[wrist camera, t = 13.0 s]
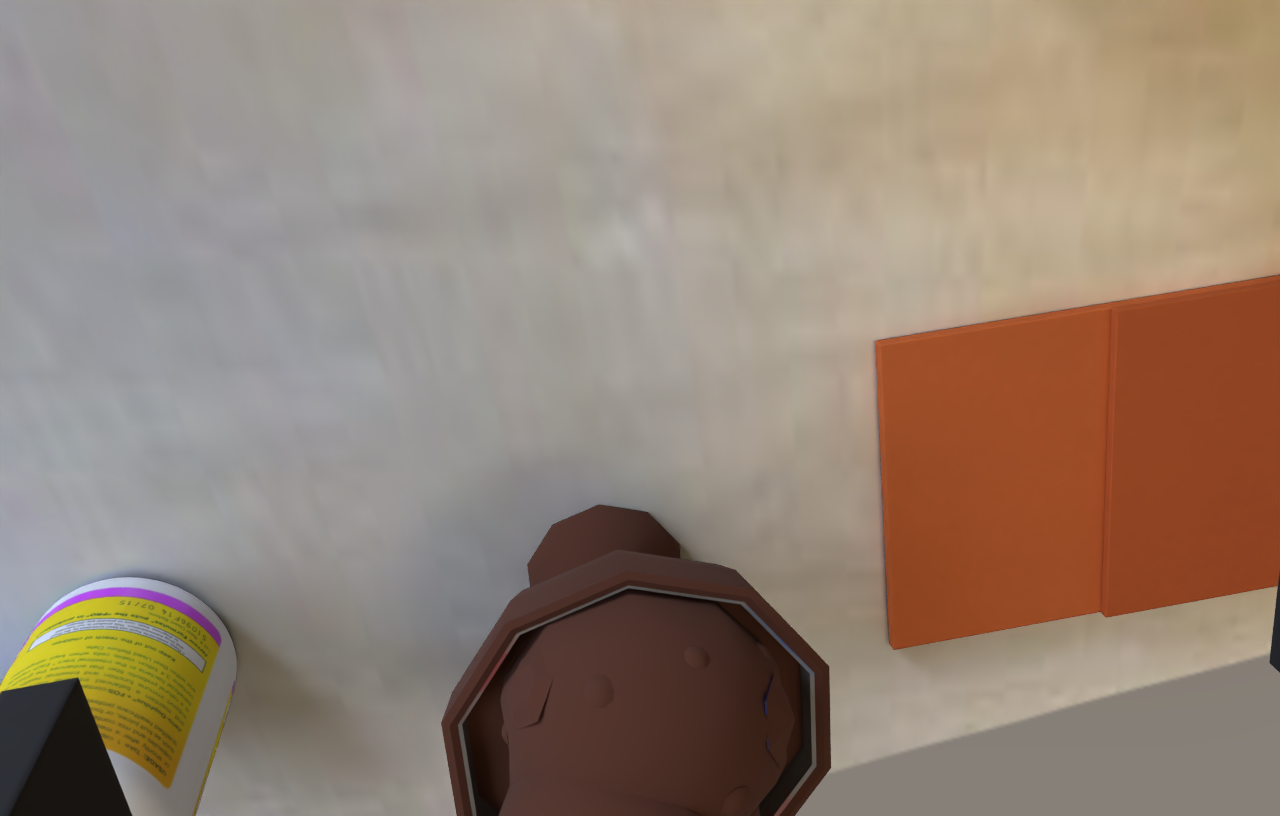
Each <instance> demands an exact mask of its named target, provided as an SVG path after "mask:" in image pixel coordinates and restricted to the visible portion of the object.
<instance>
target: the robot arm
mask: <svg viewBox="0 0 1280 816" xmlns="http://www.w3.org/2000/svg"><path fill="white" fill-rule="evenodd" d="M1270 664H1271V665H1273V666H1274V668H1275V669H1277V670H1278V671H1279V672H1280V572H1279V581H1278V590H1277V599H1276V608H1275V617H1274V627H1273V636H1272V645H1271V654H1270ZM0 816H132V813H131V811H130V808H129V806H128V803H127V801H126V798H125V795H124V793H123V790H122V788H121V785H120V783H119V780H118V778H117V775H116V772H115V770H114V767H113V765H112V762H111V760H110V757H109V755H108V752H107V750H106V747H105V744H104V742H103V739H102V737H101V734H100V732H99V729H98V727H97V724H96V722H95V719H94V716H93V714H92V711H91V709H90V706H89V704H88V701H87V699H86V696H85V693H84V691H83V688H82V686H81V683H80V681H79V678H78V677H77V678H72V679H66V680H61V681H55V682H50V683H44V684H39V685H33V686H28V687H22V688H17V689H11V690H6V691H2V692H1V693H0Z"/></svg>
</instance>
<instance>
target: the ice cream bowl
mask: <svg viewBox="0 0 1280 816" xmlns="http://www.w3.org/2000/svg"><path fill="white" fill-rule="evenodd" d="M527 565H528V573H529V581H530V587H529V588H527V589H525V590H522V591H521V592H520V593H519V594H518V595H517V596H515V597H514V598H513V599H512V600H511V601H510V602H509V604H508V606H507V607H506V609H505V610H504V612H503V613H502V615H501V617H500V618H499V620H498V621H497V623H496V624H495V626H494V628H493V629H492V631H491V632H490V634H489V635H488V637H487V639H486V640H485V642H484V643H483V645H482V646H481V648H480V650H479V651H478V653H477V654H476V656H475V658H474V659H473V661H472V662H471V664H470V665H469V667H468V669H467V670H466V672H465V673H464V675H463V676H462V678H461V680H460V681H459V683H458V684H457V686H456V687H455V689H454V691H453V692H452V695H451V697H450V700H449V703H448V706H447V709H446V711H445V714H444V717H443V720H442V722H441V725H442V730H443V736H444V742H445V748H446V754H447V760H448V766H449V772H450V778H451V784H452V790H453V795H454V801H455V807H456V813H457V816H795V815H796V813H797V812H798V811H799V809H800V808H801V807H802V805H803V804H804V803H805V801H806V800H807V799H808V797H809V796H810V795H811V793H812V792H813V791H814V790H815V788H816V787H817V786H818V784H819V783H820V782H821V780H822V779H823V778H824V776H825V775H826V774H827V772H828V771H829V770H830V768H831V744H830V686H829V666H828V665H827V664H826V663H825V662H824V661H823V660H822V659H821V657H820V656H819V655H818V654H817V653H816V652H815V651H814V650H813V649H812V648H811V647H810V646H809V645H808V644H807V642H806V641H805V640H804V639H803V638H802V637H801V636H800V635H799V634H798V633H797V632H796V631H795V630H794V629H793V628H792V627H791V626H790V625H789V624H788V623H787V622H786V621H785V620H784V619H783V618H782V617H781V616H780V615H779V614H778V613H777V612H776V611H775V610H774V609H773V608H772V607H771V606H770V605H769V604H768V603H767V602H766V601H765V600H764V599H763V597H762V596H761V595H760V594H759V593H758V592H757V591H756V590H755V589H754V588H753V587H752V586H751V585H750V584H749V583H748V582H747V581H746V580H745V579H744V578H743V577H742V576H741V575H740V574H739V573H738V572H737V571H736V570H733V569H730V568H727V567H724V566H721V565H717V564H712V563H705V562H698V561H692V560H685V559H680V548H679V543H678V542H677V541H676V540H675V539H674V538H673V537H672V536H671V535H670V534H669V533H668V532H667V531H666V530H665V529H664V528H663V527H662V526H661V525H660V524H659V523H658V522H657V521H656V520H655V519H654V518H653V517H652V516H651V515H650V514H649V513H648V512H642V511H636V510H630V509H623V508H617V507H611V506H604V505H597V506H595V507H592V508H590V509H588V510H585V511H583V512H581V513H578V514H576V515H574V516H572V517H569V518H567V519H565V520H562V521H560V522H558V523H555V524H553V525H552V526H551V528H550V530H549V531H548V533H547V534H546V536H545V537H544V539H543V541H542V542H541V544H540V545H539V547H538V548H537V550H536V552H535V553H534V555H533V556H532V558H531V560H530V561H529V563H528V564H527Z"/></svg>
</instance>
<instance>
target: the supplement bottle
mask: <svg viewBox="0 0 1280 816" xmlns="http://www.w3.org/2000/svg"><path fill="white" fill-rule="evenodd" d="M236 676H237V659H236V652H235V648H234V645H233V642H232V639H231V637H230V635H229V633H228V631H227V629H226V627H225V626H224V624H223V623H222V621H221V620H220V619H219V617H218V616H217V615H216V614H215V613H214V612H213V611H212V610H211V609H210V608H209V607H208V606H207V605H206V604H205V603H204V602H202V601H201V600H199V599H198V598H196V597H195V596H193V595H192V594H190V593H188V592H186V591H185V590H183V589H181V588H178V587H176V586H173V585H171V584H167V583H164V582H161V581H156V580H151V579H145V578H134V577H122V578H113V579H106V580H102V581H98V582H94V583H91V584H88V585H85V586H83V587H81V588H78V589H76V590H74V591H73V592H71V593H69V594H67V595H66V596H64V597H63V598H61V599H60V600H59V601H57V602H56V603H55V604H54V605H53V606H52V607H51V608H50V609H49V610H48V611H47V612H46V613H45V614H44V615H43V617H42V618H41V619H40V621H39V622H38V623H37V625H36V627H35V628H34V630H33V631H32V633H31V634H30V636H29V637H28V639H27V641H26V642H25V644H24V646H23V647H22V649H21V651H20V652H19V654H18V656H17V657H16V659H15V661H14V662H13V664H12V666H11V667H10V669H9V671H8V672H7V674H6V676H5V677H4V679H3V681H2V682H1V684H0V693H1V692H2V691H6V690H11V689H17V688H22V687H28V686H33V685H39V684H44V683H50V682H55V681H61V680H66V679H72V678H77V677H78V678H79V681H80V683H81V686H82V688H83V691H84V693H85V696H86V699H87V701H88V704H89V706H90V709H91V711H92V714H93V716H94V719H95V722H96V724H97V727H98V729H99V732H100V734H101V737H102V739H103V742H104V744H105V747H106V750H107V752H108V755H109V757H110V760H111V762H112V765H113V767H114V770H115V772H116V775H117V778H118V780H119V783H120V785H121V788H122V790H123V793H124V795H125V798H126V801H127V803H128V806H129V808H130V811H131V813H132V816H196V814H197V810H198V807H199V804H200V800H201V797H202V794H203V791H204V787H205V784H206V781H207V778H208V774H209V771H210V768H211V764H212V761H213V758H214V755H215V752H216V748H217V746H218V743H219V739H220V735H221V732H222V729H223V726H224V723H225V720H226V716H227V713H228V709H229V706H230V702H231V699H232V695H233V691H234V687H235V683H236Z"/></svg>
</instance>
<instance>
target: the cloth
mask: <svg viewBox="0 0 1280 816" xmlns="http://www.w3.org/2000/svg"><path fill="white" fill-rule="evenodd" d="M875 344H876V366H877V387H878V409H879V430H880V452H881V474H882V495H883V517H884V538H885V560H886V581H887V603H888V624H889V643H890V645H891V646H892V648H893V649H894V650H896V649H901V648H906V647H912V646H917V645H923V644H928V643H934V642H939V641H944V640H950V639H955V638H961V637H966V636H972V635H977V634H982V633H988V632H993V631H999V630H1004V629H1010V628H1015V627H1020V626H1026V625H1031V624H1037V623H1042V622H1048V621H1053V620H1058V619H1064V618H1069V617H1075V616H1080V615H1085V614H1091V613H1096V612H1102V614H1103V615H1104V616H1105V617H1112V616H1117V615H1122V614H1128V613H1133V612H1139V611H1144V610H1149V609H1155V608H1160V607H1166V606H1171V605H1176V604H1182V603H1187V602H1193V601H1198V600H1204V599H1209V598H1214V597H1220V596H1225V595H1231V594H1236V593H1241V592H1247V591H1252V590H1258V589H1263V588H1268V587H1274V586H1278V581H1279V572H1280V275H1278V276H1272V277H1266V278H1260V279H1253V280H1247V281H1241V282H1235V283H1229V284H1223V285H1216V286H1210V287H1204V288H1198V289H1192V290H1186V291H1180V292H1173V293H1167V294H1161V295H1155V296H1149V297H1143V298H1137V299H1130V300H1124V301H1118V302H1112V303H1106V304H1100V305H1093V306H1087V307H1081V308H1075V309H1069V310H1063V311H1057V312H1050V313H1044V314H1038V315H1032V316H1026V317H1020V318H1014V319H1007V320H1001V321H995V322H989V323H983V324H977V325H970V326H964V327H958V328H952V329H946V330H940V331H934V332H927V333H921V334H915V335H909V336H903V337H897V338H891V339H884V340H878V341H876V342H875Z"/></svg>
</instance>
